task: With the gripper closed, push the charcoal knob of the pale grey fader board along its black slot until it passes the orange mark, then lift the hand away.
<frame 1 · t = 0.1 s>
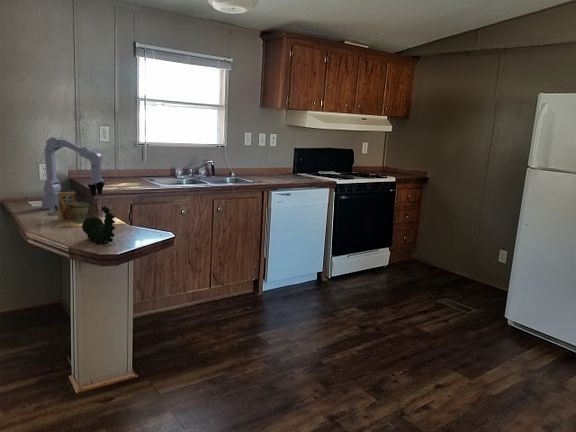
hand: (96, 195, 285), 10 cm above the table, tool pointing down, fingers open, 7 cm apart
fader knob: (57, 207, 274), point 3 cm above the table, slide at -6.0 cm, touching fader board
fader board: (68, 212, 278), on the table
toy figurine: (98, 241, 218), on the table
candy box: (67, 219, 260), on the table
ceramic cup: (81, 221, 257), on the table
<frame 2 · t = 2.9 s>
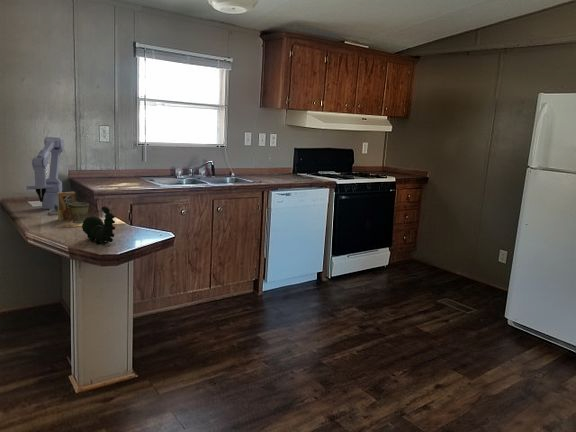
hand: (41, 201, 270), 7 cm above the table, tool pointing down, fingers closed
nothing on the table moved.
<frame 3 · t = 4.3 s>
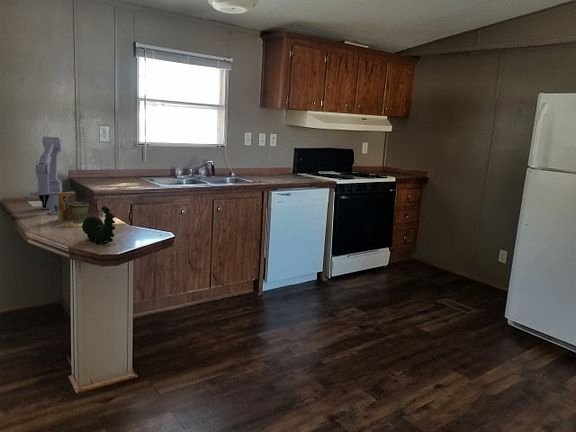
hand: (44, 207, 272), 3 cm above the table, tool pointing down, fingers closed
nothing on the table moved.
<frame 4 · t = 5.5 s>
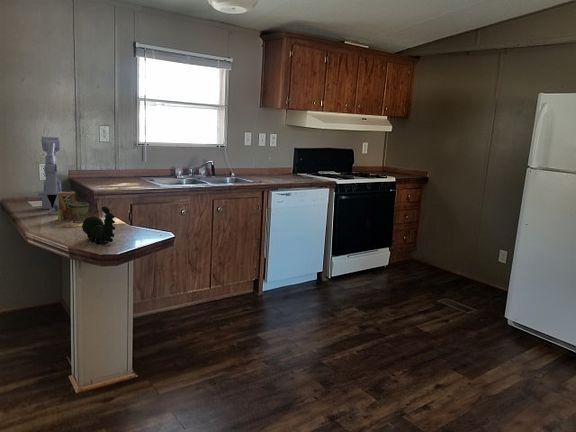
hand: (52, 207, 273), 3 cm above the table, tool pointing down, fingers closed, pressing on fader knob
fader knob: (57, 207, 274), point 3 cm above the table, slide at -6.0 cm, touching fader board, gripper
everything else where it was.
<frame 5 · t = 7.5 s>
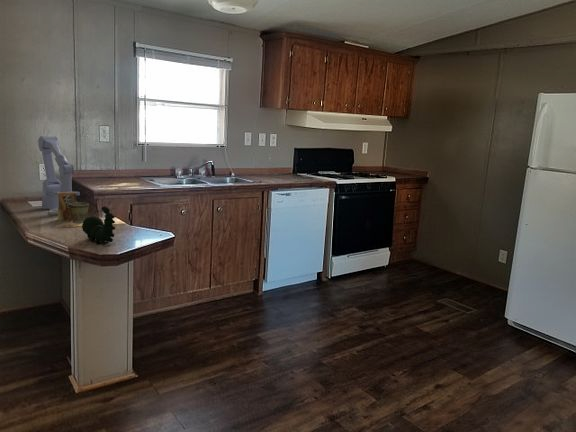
hand: (66, 207, 277), 3 cm above the table, tool pointing down, fingers closed, pressing on fader knob
fader knob: (68, 207, 277), point 3 cm above the table, slide at 0.3 cm, touching fader board, gripper
everything else where it was.
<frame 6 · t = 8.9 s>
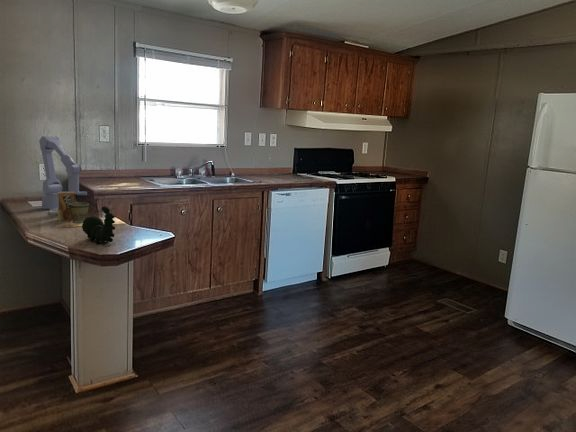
hand: (74, 207, 279), 3 cm above the table, tool pointing down, fingers closed, pressing on fader knob
fader knob: (76, 207, 279), point 3 cm above the table, slide at 4.5 cm, touching fader board, gripper
everything else where it was.
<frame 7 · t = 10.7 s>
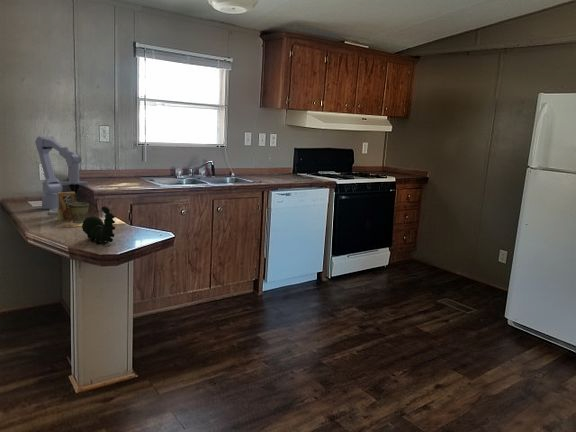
hand: (74, 197, 278), 9 cm above the table, tool pointing down, fingers closed
fader knob: (79, 206, 280), point 3 cm above the table, slide at 6.0 cm, touching fader board
everything else where it was.
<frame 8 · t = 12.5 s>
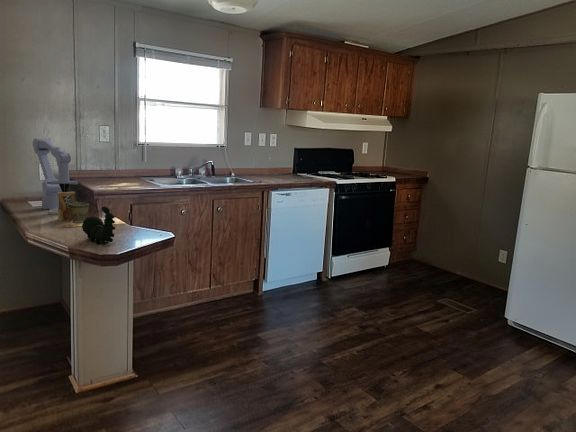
hand: (64, 196, 278), 9 cm above the table, tool pointing down, fingers closed
nothing on the table moved.
at the end: fader knob slide at 6.0 cm; candy box moved 0.2 cm from its start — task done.
